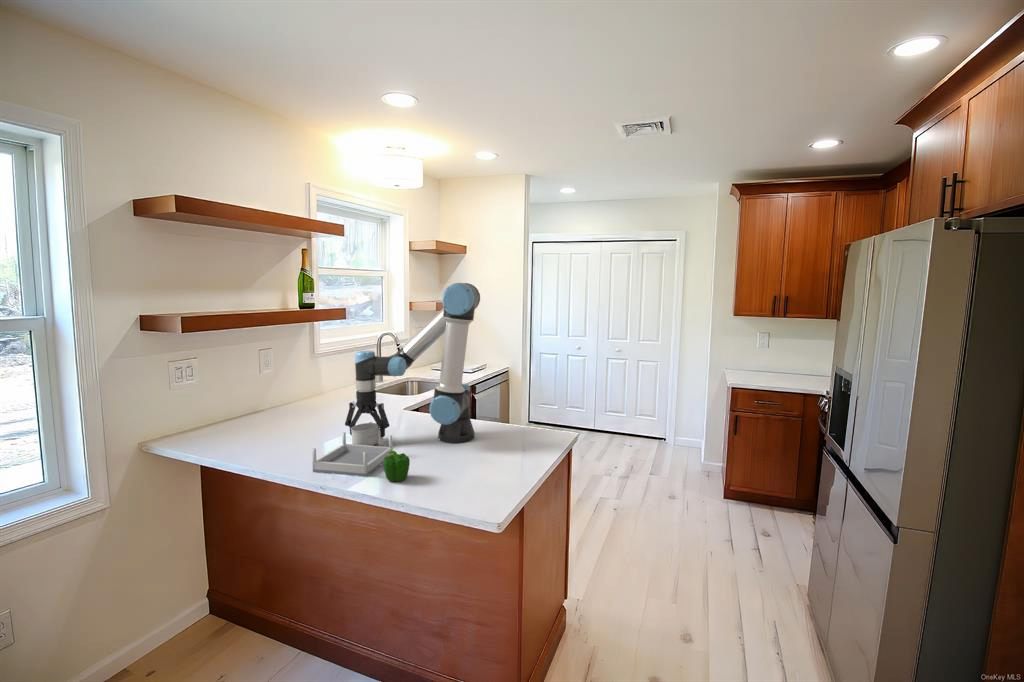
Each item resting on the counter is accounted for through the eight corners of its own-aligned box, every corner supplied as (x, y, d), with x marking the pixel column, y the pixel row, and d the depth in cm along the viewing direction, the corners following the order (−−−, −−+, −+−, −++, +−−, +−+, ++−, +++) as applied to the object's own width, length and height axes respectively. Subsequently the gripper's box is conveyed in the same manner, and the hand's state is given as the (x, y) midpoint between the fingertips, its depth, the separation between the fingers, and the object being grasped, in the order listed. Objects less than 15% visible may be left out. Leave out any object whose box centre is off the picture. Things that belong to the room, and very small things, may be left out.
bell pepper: (412, 474, 168) (411, 445, 167) (407, 484, 160) (407, 454, 159) (387, 474, 168) (386, 446, 166) (381, 484, 159) (380, 454, 158)
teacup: (371, 450, 191) (371, 430, 191) (346, 449, 194) (345, 429, 193) (387, 440, 205) (387, 421, 204) (363, 438, 207) (363, 419, 206)
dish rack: (393, 456, 185) (392, 435, 184) (366, 476, 166) (365, 453, 165) (343, 452, 190) (343, 432, 189) (312, 471, 170) (311, 449, 169)
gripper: (397, 389, 198) (398, 442, 201) (344, 386, 203) (346, 439, 205) (389, 393, 191) (390, 448, 193) (334, 390, 196) (336, 444, 198)
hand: (367, 443), depth 199 cm, fingers closed on teacup, 11 cm apart
